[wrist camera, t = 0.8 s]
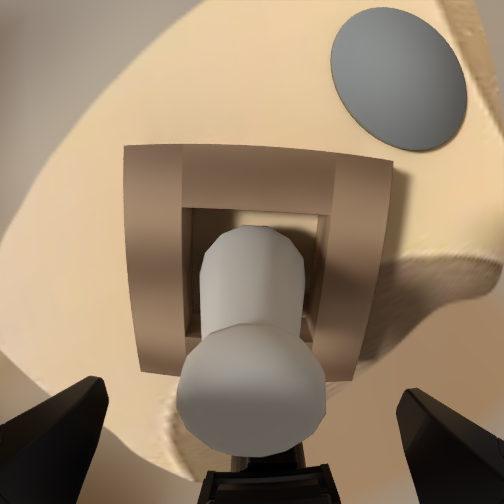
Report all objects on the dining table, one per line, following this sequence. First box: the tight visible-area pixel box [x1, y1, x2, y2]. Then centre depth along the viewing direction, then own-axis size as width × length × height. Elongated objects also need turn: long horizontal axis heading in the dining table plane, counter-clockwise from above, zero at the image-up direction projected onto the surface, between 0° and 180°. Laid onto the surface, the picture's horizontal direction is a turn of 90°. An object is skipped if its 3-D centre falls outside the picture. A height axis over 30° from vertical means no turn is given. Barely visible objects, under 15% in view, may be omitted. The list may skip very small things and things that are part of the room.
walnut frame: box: [123, 144, 393, 382], centre depth 18 cm, size 14×14×3 cm
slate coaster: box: [331, 7, 467, 150], centre depth 15 cm, size 10×10×1 cm
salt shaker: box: [176, 225, 326, 457], centre depth 13 cm, size 6×6×13 cm
